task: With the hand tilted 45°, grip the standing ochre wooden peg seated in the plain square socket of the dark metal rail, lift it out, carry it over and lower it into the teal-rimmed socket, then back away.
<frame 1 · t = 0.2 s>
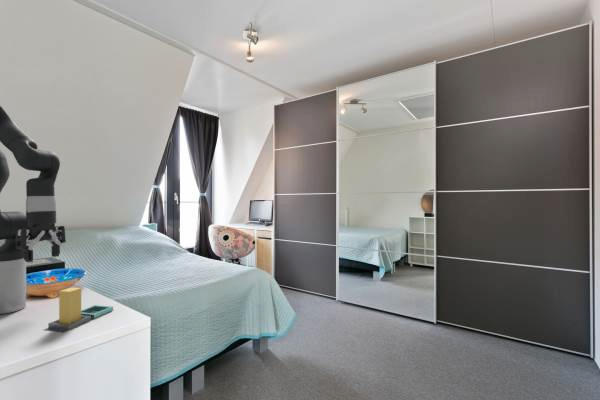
hand: (42, 259, 98), 18 cm above the table, tool pointing down, fingers open, 8 cm apart
peg: (70, 323, 87), point 1 cm above the table, touching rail
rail: (81, 322, 90), on the table
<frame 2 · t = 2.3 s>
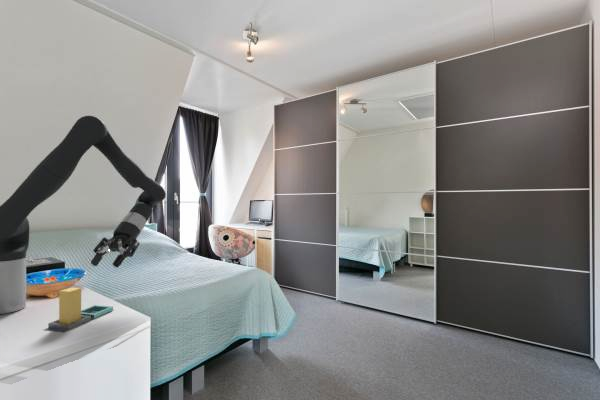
hand: (103, 265, 98), 16 cm above the table, tool tilted 45°, fingers open, 8 cm apart
nothing on the table moved.
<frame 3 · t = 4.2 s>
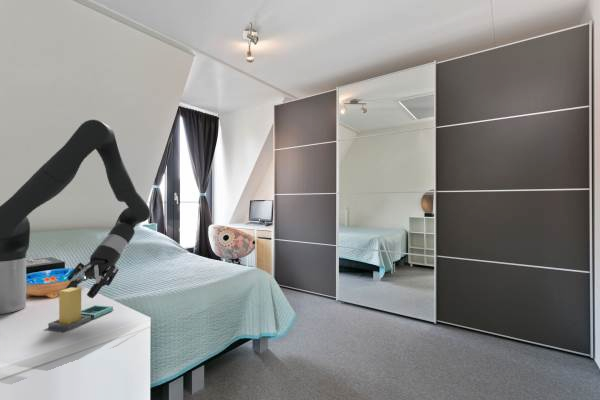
hand: (77, 295, 89), 9 cm above the table, tool tilted 45°, fingers open, 8 cm apart
nothing on the table moved.
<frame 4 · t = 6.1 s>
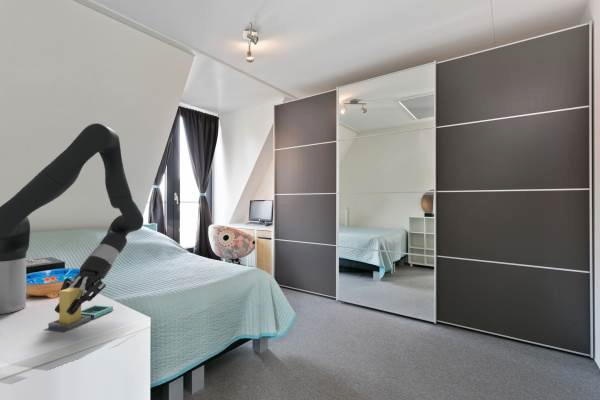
hand: (63, 312, 85), 5 cm above the table, tool tilted 45°, fingers closed on peg, 3 cm apart
peg: (70, 323, 87), point 1 cm above the table, touching gripper, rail
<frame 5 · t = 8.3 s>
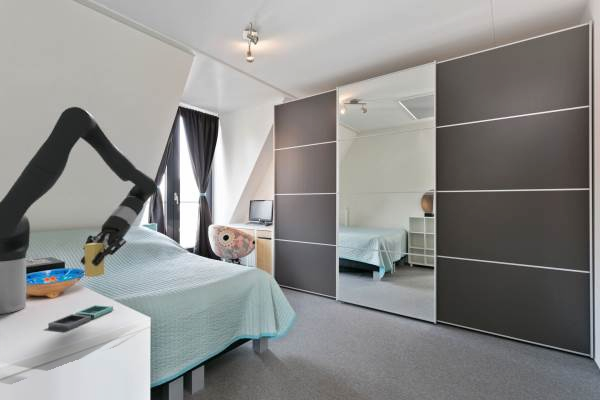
hand: (88, 263, 92), 17 cm above the table, tool tilted 45°, fingers closed on peg, 3 cm apart
peg: (94, 275, 94), point 13 cm above the table, touching gripper
when the fingers open (6 cm above the table, at t = 10.8 s): peg stays where it is, resting on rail.
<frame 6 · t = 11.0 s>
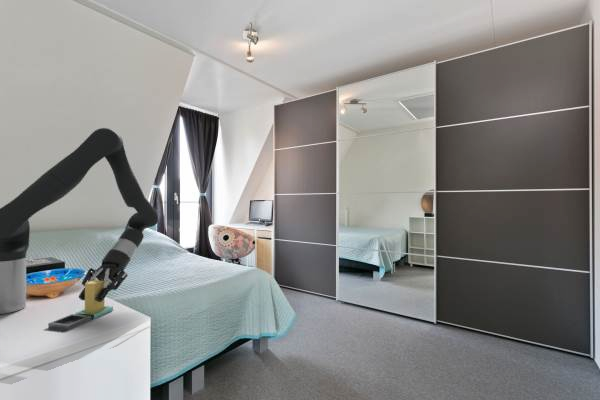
hand: (89, 299, 93), 6 cm above the table, tool tilted 45°, fingers open, 5 cm apart
peg: (94, 313, 95), point 1 cm above the table, touching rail
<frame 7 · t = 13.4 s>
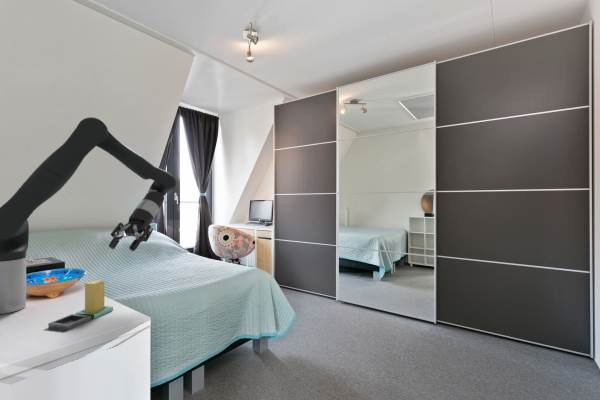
hand: (121, 248, 106), 20 cm above the table, tool tilted 40°, fingers open, 8 cm apart
nothing on the table moved.
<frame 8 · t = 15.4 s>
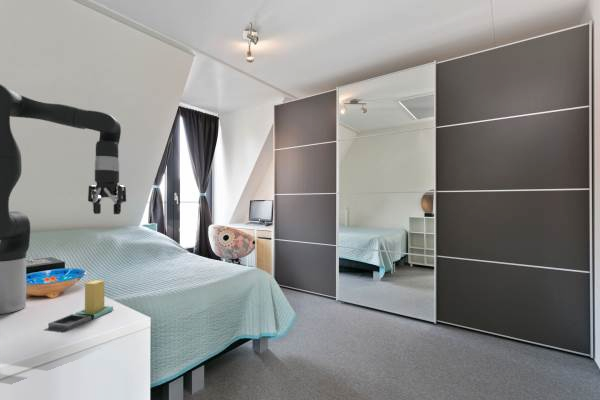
hand: (107, 213, 109), 32 cm above the table, tool pointing down, fingers open, 8 cm apart
nothing on the table moved.
at the end: peg 0.0 cm from the target spot on the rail, point 1.2 cm above the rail's base; peg tilted 0°; the gripper is holding nothing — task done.
